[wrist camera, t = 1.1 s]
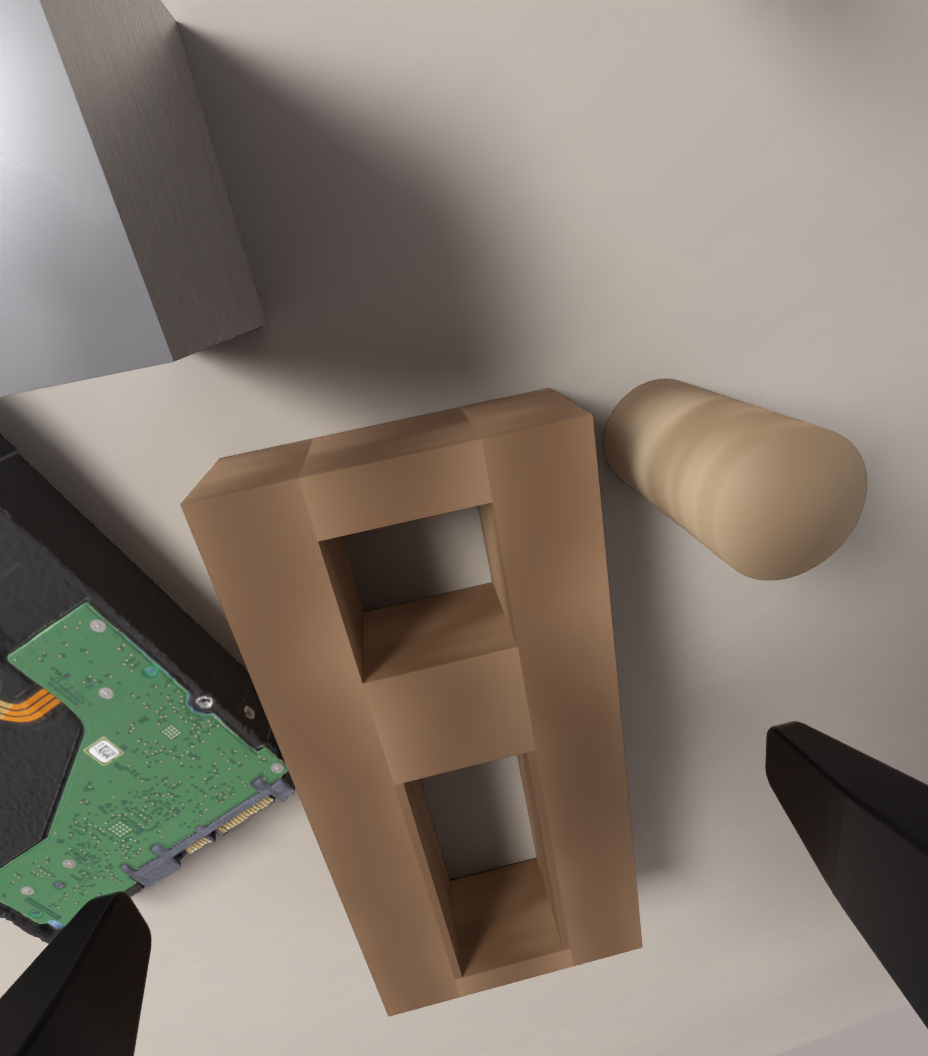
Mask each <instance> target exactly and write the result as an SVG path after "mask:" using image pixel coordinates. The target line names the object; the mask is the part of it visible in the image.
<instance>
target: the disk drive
mask: <svg viewBox="0 0 928 1056" xmlns="http://www.w3.org/2000/svg"><path fill="white" fill-rule="evenodd" d="M294 790H295V785H294V783H293V780H292V778H291V775H290V773H289V771H288V768H287V766H286V763H285V761H284V758H283V756H282V753H281V751H280V748H279V746H278V743H277V741H276V739H275V736H274V734H273V731H272V729H271V726H270V724H269V721H268V719H267V716H266V714H265V711H264V709H263V707H262V704H261V702H260V699H259V697H258V694H257V692H256V689H255V687H254V684H253V682H252V679H251V677H250V675H249V672H248V671H247V670H246V669H244V668H243V666H242V665H241V664H240V663H238V662H237V661H236V660H235V659H234V658H233V657H232V656H231V655H230V654H229V653H228V652H227V651H226V650H225V649H224V648H222V647H221V646H220V644H218V643H217V642H216V641H215V640H214V639H213V638H212V637H211V636H210V635H208V633H207V632H206V631H205V630H204V629H202V628H201V627H200V626H199V625H198V624H197V623H196V622H195V621H194V620H193V619H192V618H191V617H190V616H189V615H188V614H187V613H186V612H184V611H183V610H182V608H180V607H179V606H178V604H176V603H175V602H174V601H173V600H172V599H171V598H170V597H169V596H168V595H167V594H166V593H165V592H164V591H163V590H162V589H161V588H160V587H159V586H157V585H156V584H155V583H154V582H153V581H152V580H151V579H150V578H149V577H148V576H147V575H146V574H145V573H144V572H143V571H142V570H141V569H140V568H139V567H138V566H137V565H136V564H135V563H133V562H132V561H131V560H130V559H129V558H128V557H127V556H126V555H125V554H124V553H123V552H122V551H121V550H120V549H119V548H118V547H117V546H115V545H114V544H113V543H112V542H111V541H110V540H109V539H108V538H107V537H106V536H105V535H104V534H102V533H101V532H100V531H99V530H98V529H97V528H96V527H95V526H94V525H93V524H92V523H91V522H90V521H89V520H87V519H86V518H85V517H84V516H83V515H82V514H81V513H80V512H79V511H78V510H77V509H76V508H75V507H74V506H73V505H72V504H71V503H70V502H69V501H68V500H67V499H66V498H64V497H63V496H62V495H61V494H60V493H59V492H58V491H57V490H56V489H55V488H54V487H53V486H52V485H51V484H50V483H49V482H48V481H47V480H46V479H45V478H44V477H43V476H42V475H41V474H40V473H39V472H38V471H36V470H35V469H34V468H33V467H32V466H31V465H30V464H29V463H28V462H27V461H26V460H25V459H24V458H23V457H22V456H20V455H19V454H18V452H17V451H16V449H15V447H14V446H13V445H12V444H10V442H8V441H7V440H6V439H5V438H4V437H3V436H2V435H1V433H0V918H5V919H6V920H10V921H12V922H13V923H14V925H16V926H18V927H20V928H21V929H22V930H23V931H25V932H27V933H28V934H30V935H33V936H34V937H38V938H40V939H41V940H42V941H44V942H46V943H48V944H50V942H51V941H52V940H53V939H54V938H55V937H56V936H57V935H58V934H59V932H60V931H61V930H62V929H63V928H64V927H65V926H66V925H67V923H68V922H69V921H70V920H71V919H72V918H73V917H74V916H75V915H76V913H77V912H78V911H79V910H80V909H81V908H82V907H83V906H84V905H85V904H86V903H87V902H88V901H89V900H91V899H93V898H95V897H98V896H102V895H106V894H110V893H114V892H118V891H123V892H125V893H127V894H128V895H129V896H130V898H131V897H132V896H134V895H135V894H137V893H139V892H140V891H142V890H143V889H144V887H145V886H147V887H150V886H152V885H154V884H156V883H158V882H159V881H161V880H162V879H163V878H165V877H167V876H168V875H170V874H171V873H173V872H174V871H176V870H178V869H179V868H180V867H181V862H180V860H181V859H182V858H183V857H184V856H185V854H186V853H187V852H188V853H191V854H193V853H195V852H197V851H198V850H200V849H201V848H203V847H204V846H206V845H207V844H209V843H210V842H215V841H216V836H215V833H217V832H218V833H219V834H220V835H222V836H223V835H225V834H226V833H227V832H228V831H230V830H231V829H232V828H234V827H236V826H237V825H238V824H240V823H241V822H243V821H245V820H247V819H248V818H249V817H251V816H252V815H254V814H256V813H257V812H259V811H260V810H262V809H264V808H265V807H267V806H268V805H270V804H271V803H273V802H274V801H275V797H276V798H277V799H278V800H279V801H280V802H284V801H285V800H286V799H287V797H288V796H289V795H290V794H291V793H293V792H294ZM273 796H275V797H273Z"/></svg>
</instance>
